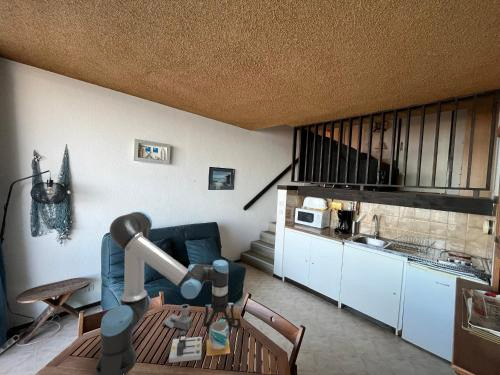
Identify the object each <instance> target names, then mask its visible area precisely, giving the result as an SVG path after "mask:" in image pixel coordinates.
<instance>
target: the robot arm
mask: <svg viewBox="0 0 500 375" xmlns="http://www.w3.org/2000/svg"><path fill="white" fill-rule="evenodd" d="M152 227H153V220H152V218H151V216H150V215H149V214H148V213H146V212H144V211H133V212H130V213H127V214H124V215H123V214H122V215H120V216H119V217H116V218H115V219H114V220H113V221H112V222H111V223H110V226H109V235H110V238H111V239H112V241H113V242H114V243H115V244H116V245H117V246H118V247H119V248H121V249H122V250H123V251H124V280H123V281H124V284H123V285H124V290H123V293H122V294H121V296H120V305H118V306H115V307H114V308H111V309H109V310H107V311H106V313H105V314H104V315H103V316H102V319H101V323H100V328H99V329H100V353H99V356H98V358H97V361H96V364H95V369H94V371H95V372H94V374H95V373H96V374H95V375H123V374H125V375H126V374H127V373H128V371H129V370H130V369H131V370H132V369H133V368H134V367H135V365H136V362H137V353H136V350H135V348H134V345H133V331H134V330H135V328H136V327H137V326H138V325H139V324H140V322H141V321H142V320H143V318H144V317H145V316H146V315H147V314H148V312H149V310H150V308H151V303H152V301H151V298H150V296H149V295H148V292H147V290H146V289H145V263H146V264H147V265H148V266H150V267H151V268H152V269H154V270H155V271H157V272H158V273H160V274H161V275H162V276H163V277H165V278H166V279H167V280H169V281H170V282H172V283H173V284H174V285H176V286H177V287H179V288H180V293H181V295H182V297H183V298H185V299H187V300H192V299H195V298H196V297H198V296H199V293H200V292H201V290H202V288H203V285H204V283H205V282H212V286H211V288H212V289H211V290H212V291H211V293H212V294H211V303H210V304H208V303H206V304H205V306H204V307H205V312H204V318H203V322H202V323H203V324H202V327H205V328H206V334H208V340H209V341H211V325H212V323H213V320H214V319H215V316H216V314H218V313H221V314H223V313H224V315H225V318H226V320H227V322H228V323H227V326H228V336H227V339H229V335H230V334H229V333H230V332H231V331H232V327H231V325H232V324H235V320H234V313H233V307H234V308H235V304H234V302H228V299H229V298H228V297H229V294H228V292H229V290H228V289H229V263H228V261H226V260H224V259H217V260H214V261H213V263H212V264H199V263H195V264H189V265H188V268H187V267H186V266H184V265H183V264H182V263H180V262H179V261H178V260H176V259H174V258H173V257H172V256H171V255H169V254H168V253H167V252H165V251H163V250H162V249H161V248H160V247H158V246H157V245H156V244H154V243H153V242H151V241H150V240H149V232H150V231H151V229H152ZM227 307H228V309H229V308H230V310H231V317H232V320H231V321H230V319H229V316H228V314H227V311H226V308H227ZM210 309H212V312H211V314H210V316H209V311H210ZM208 316H209V318H208ZM131 370H130V371H131ZM130 371H129V372H130Z"/></svg>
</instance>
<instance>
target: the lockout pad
mask: <svg viewBox="0 0 500 375" xmlns="http://www.w3.org/2000/svg"><path fill="white" fill-rule="evenodd" d="M230 354H231V349H230V342H229V338H228V339H227V345H226V346H225V347H224V348H222V349H214V348H213V347H211V342H210V341H209V339H206V357H211V356H213V357H214V356H220V355H221V356H222V355H230Z"/></svg>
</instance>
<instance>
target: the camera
mask: <svg viewBox="0 0 500 375" xmlns="http://www.w3.org/2000/svg"><path fill="white" fill-rule="evenodd" d="M189 311H190V304H187V303H186V304H185V303H184V304H181V306H180V315H177V314H175V313H172V314H170V315H169V316H168V317H167V318H166V319H164V320H163V321H162V322H161V323H162V325H164V326H167V327H168V328H169V329H171V330H172V329H173V328H177V329H180V330H182V331H189V329H190V328H192V326H193V325H192V322H193V320H192V317H191V316H189Z"/></svg>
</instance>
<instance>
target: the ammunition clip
mask: <svg viewBox="0 0 500 375" xmlns="http://www.w3.org/2000/svg"><path fill="white" fill-rule="evenodd" d="M226 311H227V314H228V316H229V319H230V321H231V320H232V317H231V310H230V308H229V306H228V307H227V308H226ZM233 313H234V320H235V324H232V325H231V328H238V327H239V328H241V327H242V321H241V320H242V315H241V314H242V309H241V305H239V307H238V305H236V306H234V307H233ZM221 315H222V316H221V319H225V323H228V322H227V320H226V318H225V315H224V313H222V314H221Z"/></svg>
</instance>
